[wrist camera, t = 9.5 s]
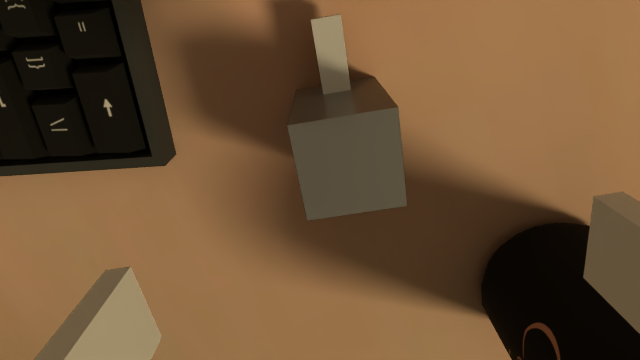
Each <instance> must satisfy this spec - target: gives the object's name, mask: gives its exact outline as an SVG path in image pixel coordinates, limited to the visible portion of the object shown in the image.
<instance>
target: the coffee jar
mask: <svg viewBox="0 0 640 360" xmlns="http://www.w3.org/2000/svg"><path fill="white" fill-rule="evenodd" d="M589 229H590V226H586V225H578V224H568V223H560V224H559V223H554V224H548V225H542V226H537V227H533V228H531V229H529V230H526V231H524V232H522V233H520V234H517V235H515V236H514V237H513V238H511V239H510V240H509V241H508V242H506V243H505V244H504V245H502V246H501V247H500V248H499V249H498V251H497V252H496V253H495V255H494V256H493V257H492V259H491V260H490V261H489V263H488V266H487V269H486V272H485V275H484V278H483V281H482V284H481V291H482V305H483V307H484V309H485V311H486V313H487V315H488V317H489V319H490V321H491V322H492V324H493V326H494V328H495V330H496V332H497V333H498V335H499V337H500V339H501V341H502V343H503V344H504V346H505V348H506V350H507V352H508V354H509V355H510V357H511V359H512V360H640V334H639V333H638V332H637V331H636V330H635V329H634V328H633V327H632V326H631V325H630V324H629V323H628V322H627V321H626V320H625V319H624V318H623V317H622V316H621V315H620V314H619V313H618V312H617V311H616V310H615V309H614V308H613V307H612V306H611V305H610V304H609V303H608V302H607V301H606V300H605V299H604V298H603V297H602V296H601V295H600V294H599V293H598V292H597V291H596V290H595V289H594V288H593V287H592V286H591V285H590V284H589V283H588V282H587V281H586V280H585V279H584V278H583V276H584V268H585V261H586V253H587V245H588V237H589Z"/></svg>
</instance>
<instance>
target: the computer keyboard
mask: <svg viewBox="0 0 640 360" xmlns="http://www.w3.org/2000/svg"><path fill="white" fill-rule="evenodd" d="M175 155H176V151H175V147H174V143H173V138H172V134H171V130H170V125H169V121H168V117H167V112H166V108H165V104H164V100H163V95H162V91H161V87H160V82H159V78H158V74H157V69H156V65H155V61H154V57H153V52H152V48H151V44H150V39H149V35H148V31H147V26H146V22H145V18H144V14H143V9H142V5H141V1H140V0H0V176H13V175H28V174H44V173H60V172H75V171H91V170H107V169H122V168H138V167H154V166H165V165H166V164H167V163H168V162H169V161H170V160H171V159H172V158H173V157H174V156H175Z"/></svg>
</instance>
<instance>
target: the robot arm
mask: <svg viewBox="0 0 640 360" xmlns="http://www.w3.org/2000/svg"><path fill="white" fill-rule="evenodd" d="M583 278H584V279H585V280H586V281H587V282H588V283H589V284H590V285H591V286H592V287H593V288H594V289H595V290H596V291H597V292H598V293H599V294H600V295H601V296H602V297H603V298H604V299H605V300H606V301H607V302H608V303H609V304H610V305H611V306H612V307H613V308H614V309H615V310H616V311H617V312H618V313H619V314H620V315H621V316H622V317H623V318H624V319H625V320H626V321H627V322H628V323H629V324H630V325H631V326H632V327H633V328H634V329H635V330H636V331H637V332H638V333H639V334H640V202H639V201H637V200H636V199H634V198H632V197H631V196H629V195H627V194H626V193H624V192H618V193H611V194H605V195H598V196H594V198H593V206H592V213H591V221H590V229H589V237H588V245H587V253H586V261H585V268H584V276H583ZM161 338H162V336H161V334H160V332H159V329H158V327H157V325H156V323H155V320H154V318H153V316H152V314H151V311H150V309H149V307H148V305H147V302H146V300H145V298H144V296H143V293H142V291H141V289H140V286H139V284H138V282H137V280H136V277H135V275H134V273H133V271H132V268H131V267H124V268H117V269H111V270H105V272H104V273H103V274H102V275H101V277H100V278H99V279H98V280H97V282H96V283H95V284H94V285H93V287H92V288H91V289H90V290H89V292H88V293H87V294H86V295H85V297H84V298H83V299H82V300H81V301H80V303H79V304H78V305H77V306H76V308H75V309H74V310H73V311H72V313H71V314H70V315H69V316H68V318H67V319H66V320H65V321H64V323H63V324H62V325H61V326H60V328H59V329H58V330H57V331H56V333H55V334H54V335H53V336H52V338H51V339H50V340H49V341H48V343H47V344H46V345H45V346H44V348H43V349H42V350H41V351H40V353H39V354H38V355H37V356H36V358H35V359H34V360H151V359H152V357H153V355H154V353H155V350H156V348H157V346H158V344H159V342H160V340H161Z"/></svg>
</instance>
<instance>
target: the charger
mask: <svg viewBox="0 0 640 360" xmlns="http://www.w3.org/2000/svg"><path fill="white" fill-rule="evenodd" d="M311 24H312V30H313V36H314V42H315V48H316V54H317V60H318V66H319V72H320V78H321V84H322V86H318V87H312V88H307V89H301V90H296V94H295V98H294V101H293V105H292V109H291V113H290V117H289V121H288V124H287V127H288V132H289V137H290V141H291V146H292V151H293V155H294V160H295V165H296V170H297V174H298V179H299V184H300V189H301V193H302V198H303V203H304V208H305V212H306V217H307V221H309V220H316V219H323V218H329V217H336V216H343V215H349V214H356V213H363V212H369V211H376V210H383V209H389V208H396V207H403V206H407V200H406V189H405V177H404V166H403V155H402V144H401V132H400V121H399V110H398V106H397V105H396V104H395V102H394V101H393V100H392V98H391V97H390V96H389V95H388V93H387V92H386V91H385V89H384V88H383V87H382V86H381V84H380V83H379V82H378V81H377V79H376V78H375V77H370V78H364V79H359V80H353V81H350V79H349V72H348V64H347V57H346V50H345V42H344V35H343V28H342V20H341V14H336V15H331V16H325V17H320V18H314V19H311Z"/></svg>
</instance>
